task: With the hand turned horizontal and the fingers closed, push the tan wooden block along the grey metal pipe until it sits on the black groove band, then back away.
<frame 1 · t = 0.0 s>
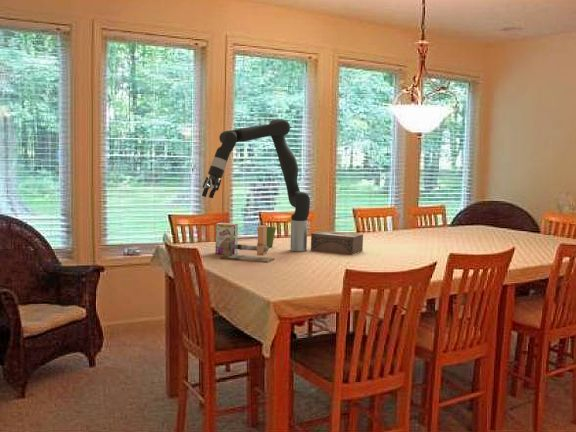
hand: (207, 197, 320), 31 cm above the table, tool tilted 20°, fingers open, 8 cm apart
tissue box cover: (336, 251, 356), on the table
tan wooden block: (262, 240, 319), point 10 cm above the table, slide at 0.0 cm
candy bar box: (226, 254, 337), on the table
plant pot: (266, 247, 364), on the table
pipe stand: (247, 259, 323), on the table
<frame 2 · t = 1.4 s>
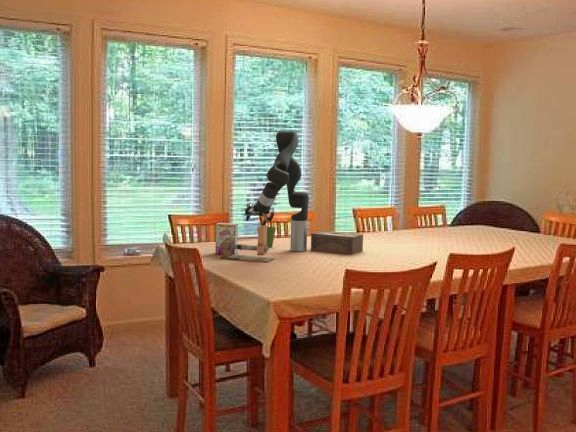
hand: (254, 222, 319), 19 cm above the table, tool tilted 40°, fingers open, 8 cm apart
tan wooden block: (262, 240, 319), point 10 cm above the table, slide at -0.2 cm, touching gripper
everything else where it was.
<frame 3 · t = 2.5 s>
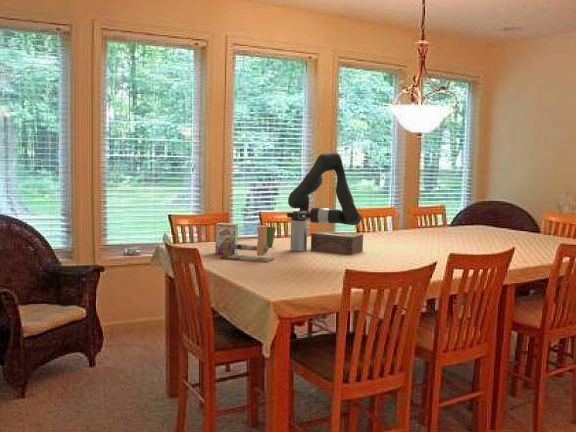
hand: (290, 214, 317), 24 cm above the table, tool horizontal, fingers open, 8 cm apart
tan wooden block: (262, 240, 319), point 10 cm above the table, slide at 0.0 cm
everything else where it was.
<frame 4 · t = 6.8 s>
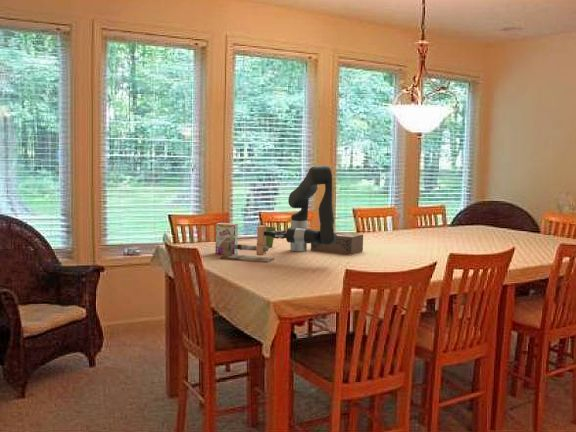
hand: (264, 233, 318), 14 cm above the table, tool horizontal, fingers closed
tan wooden block: (261, 240, 319), point 10 cm above the table, slide at 0.3 cm, touching gripper
everything else where it was.
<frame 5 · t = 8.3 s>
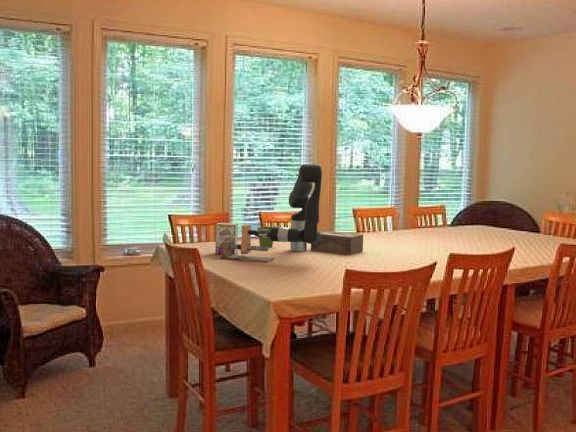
hand: (248, 232, 321), 14 cm above the table, tool horizontal, fingers closed
tan wooden block: (246, 239, 322), point 10 cm above the table, slide at 8.8 cm, touching gripper
everything else where it was.
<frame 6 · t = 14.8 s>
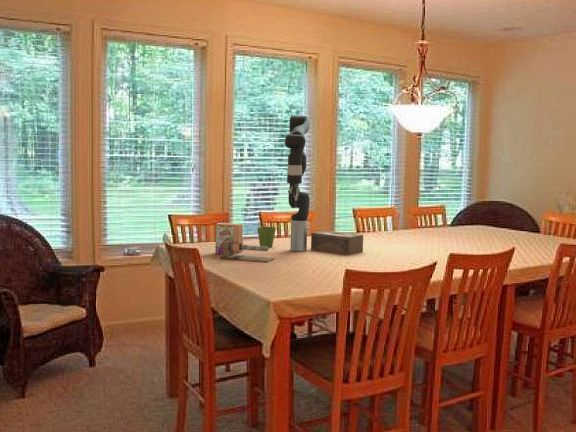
hand: (293, 207, 321), 27 cm above the table, tool pointing down, fingers closed
tan wooden block: (238, 238, 323), point 10 cm above the table, slide at 13.3 cm
at the end: tan wooden block slide at 13.3 cm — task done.
